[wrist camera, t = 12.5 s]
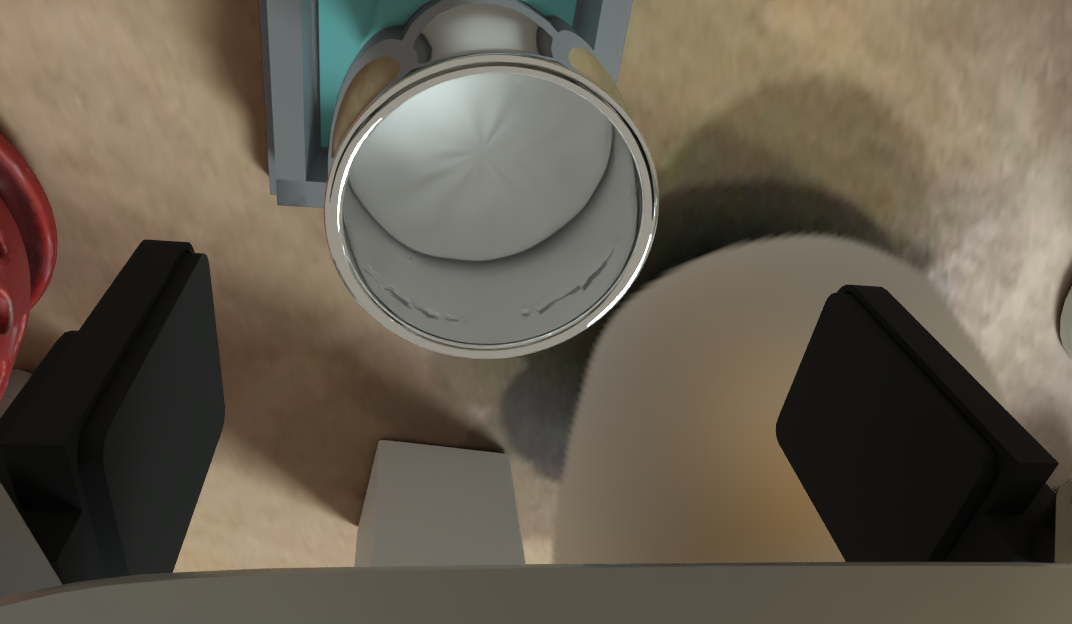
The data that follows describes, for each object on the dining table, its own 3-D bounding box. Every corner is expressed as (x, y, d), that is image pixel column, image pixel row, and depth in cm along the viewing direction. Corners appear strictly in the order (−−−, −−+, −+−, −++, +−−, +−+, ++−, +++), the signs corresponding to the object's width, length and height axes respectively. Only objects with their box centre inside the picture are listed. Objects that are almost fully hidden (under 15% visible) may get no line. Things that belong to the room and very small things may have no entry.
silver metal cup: (322, -19, 25) (234, 136, 13) (511, -103, 24) (612, -25, 12) (412, 159, 29) (412, 410, 17) (576, 90, 28) (704, 297, 16)
